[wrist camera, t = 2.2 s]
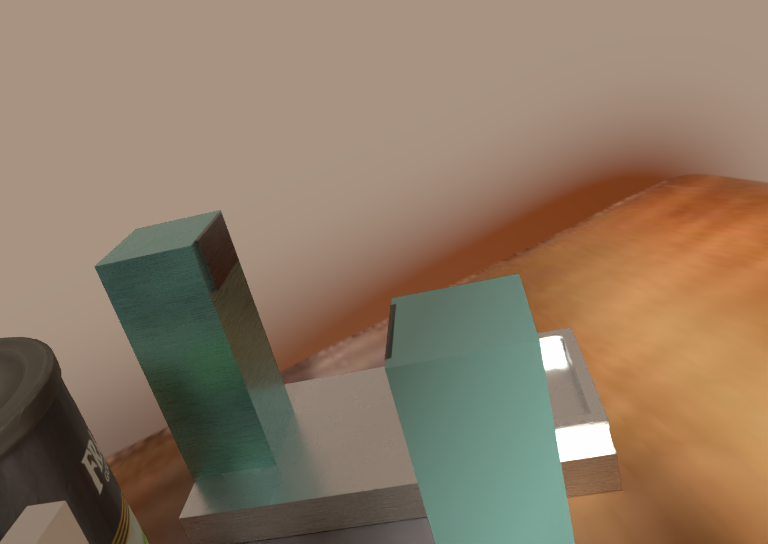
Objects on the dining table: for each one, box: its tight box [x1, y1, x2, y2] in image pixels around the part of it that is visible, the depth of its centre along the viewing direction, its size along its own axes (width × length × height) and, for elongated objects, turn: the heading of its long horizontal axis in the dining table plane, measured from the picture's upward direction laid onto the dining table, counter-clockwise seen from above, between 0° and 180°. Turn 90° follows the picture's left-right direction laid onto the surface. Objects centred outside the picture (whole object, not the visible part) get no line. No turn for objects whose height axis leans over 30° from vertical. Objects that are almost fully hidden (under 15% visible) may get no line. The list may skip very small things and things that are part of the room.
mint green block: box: [385, 274, 575, 544], centre depth 23 cm, size 4×4×12 cm
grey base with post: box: [95, 210, 621, 544], centre depth 32 cm, size 20×10×14 cm, turn 88°
